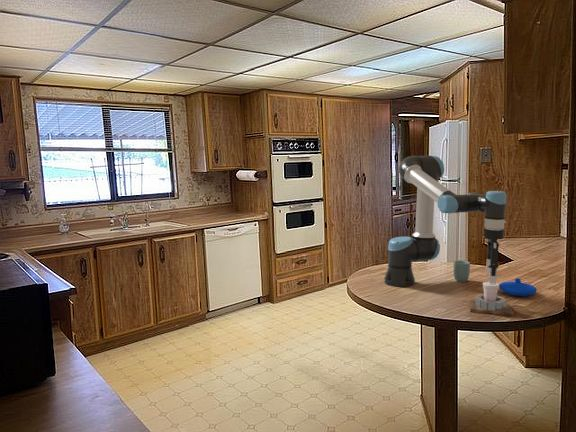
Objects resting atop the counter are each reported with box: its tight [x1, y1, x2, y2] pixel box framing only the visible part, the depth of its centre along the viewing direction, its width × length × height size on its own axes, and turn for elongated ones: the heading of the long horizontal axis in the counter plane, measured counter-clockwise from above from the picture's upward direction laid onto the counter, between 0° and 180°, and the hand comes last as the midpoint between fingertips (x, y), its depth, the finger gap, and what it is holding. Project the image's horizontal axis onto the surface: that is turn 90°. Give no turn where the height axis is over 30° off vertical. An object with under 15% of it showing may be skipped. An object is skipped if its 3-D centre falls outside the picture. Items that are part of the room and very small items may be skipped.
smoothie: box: [482, 281, 500, 301], centre depth 183 cm, size 6×6×14 cm
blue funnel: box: [498, 278, 537, 297], centre depth 204 cm, size 16×16×7 cm
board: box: [468, 299, 514, 316], centre depth 184 cm, size 16×12×1 cm
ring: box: [474, 293, 507, 311], centre depth 184 cm, size 12×12×4 cm
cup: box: [453, 260, 471, 283], centre depth 226 cm, size 8×8×10 cm
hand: (490, 278), depth 183 cm, fingers open, 13 cm apart
